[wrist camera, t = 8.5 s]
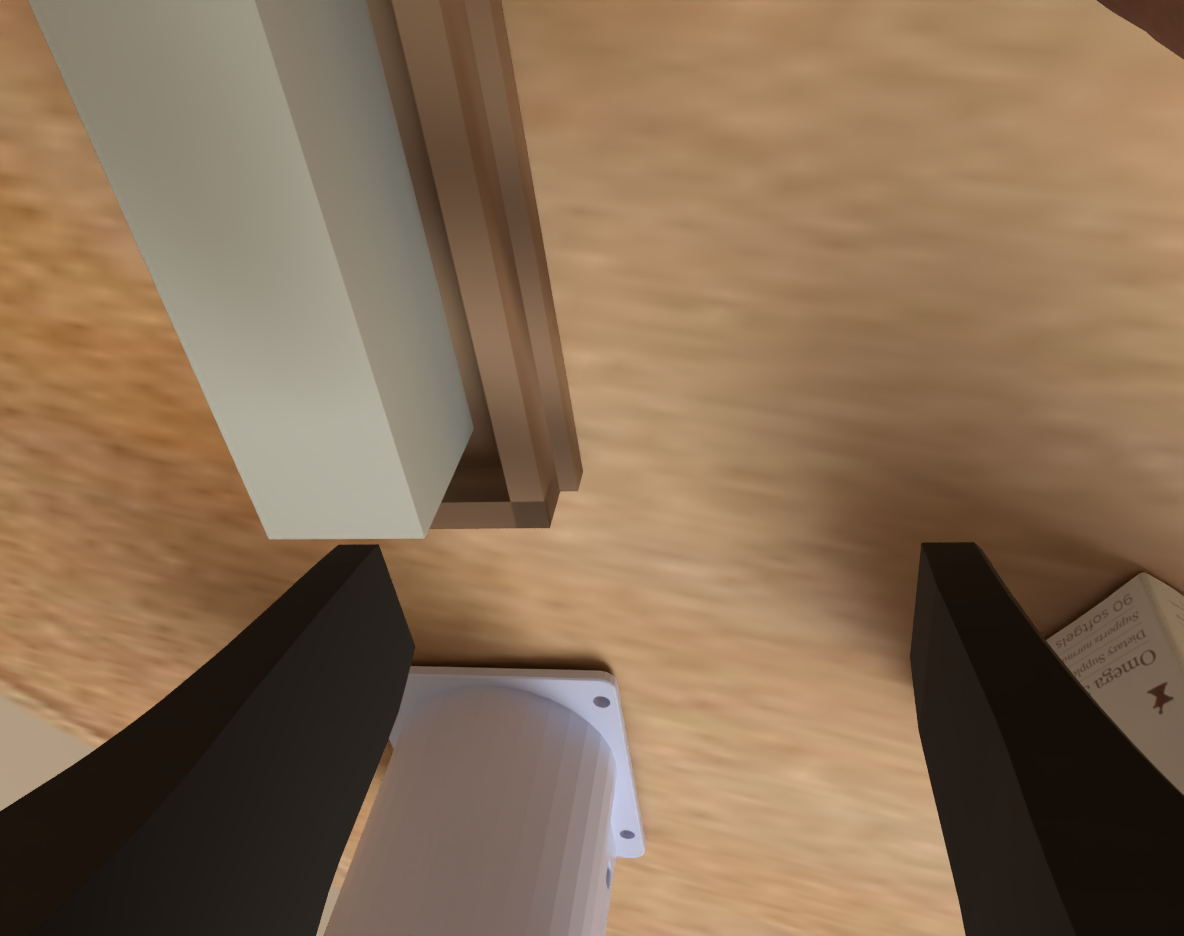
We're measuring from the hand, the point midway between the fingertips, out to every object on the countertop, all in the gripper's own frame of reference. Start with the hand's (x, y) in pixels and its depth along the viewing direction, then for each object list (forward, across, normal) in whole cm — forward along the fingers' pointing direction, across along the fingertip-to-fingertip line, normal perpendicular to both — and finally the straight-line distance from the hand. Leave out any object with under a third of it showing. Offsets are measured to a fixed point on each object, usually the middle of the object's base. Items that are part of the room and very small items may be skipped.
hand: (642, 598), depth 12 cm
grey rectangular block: (+9, +7, -3) cm, 12 cm away
